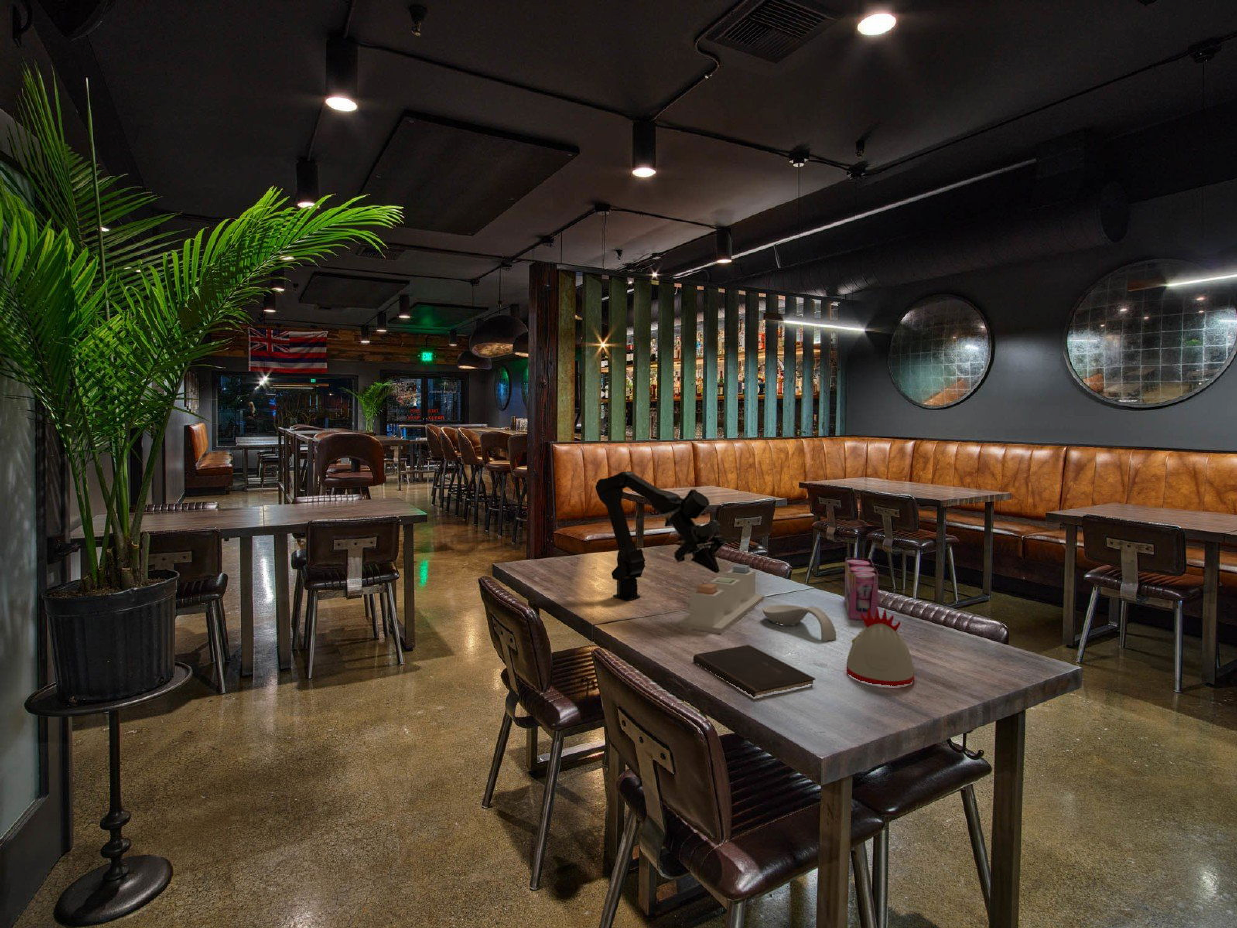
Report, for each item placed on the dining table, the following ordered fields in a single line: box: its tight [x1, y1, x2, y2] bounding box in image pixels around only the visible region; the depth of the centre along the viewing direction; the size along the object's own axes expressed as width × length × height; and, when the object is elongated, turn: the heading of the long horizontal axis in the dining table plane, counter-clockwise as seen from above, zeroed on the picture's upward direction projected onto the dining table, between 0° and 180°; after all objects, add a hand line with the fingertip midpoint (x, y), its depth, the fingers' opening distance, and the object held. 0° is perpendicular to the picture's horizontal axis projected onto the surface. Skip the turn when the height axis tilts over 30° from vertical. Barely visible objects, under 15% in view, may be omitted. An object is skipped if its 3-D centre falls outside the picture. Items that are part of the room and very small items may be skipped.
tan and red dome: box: [845, 608, 915, 686], centre depth 141 cm, size 14×14×15 cm
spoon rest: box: [762, 604, 837, 642], centre depth 175 cm, size 24×12×7 cm, turn 27°
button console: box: [679, 568, 765, 634], centre depth 189 cm, size 12×38×10 cm, turn 150°
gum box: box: [844, 556, 879, 620], centre depth 192 cm, size 24×8×14 cm, turn 164°
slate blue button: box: [732, 563, 750, 574], centre depth 200 cm, size 4×4×4 cm
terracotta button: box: [697, 582, 717, 595], centre depth 176 cm, size 4×4×4 cm
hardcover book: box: [692, 644, 816, 697], centre depth 143 cm, size 16×23×2 cm
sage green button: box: [716, 577, 734, 584], centre depth 188 cm, size 4×4×4 cm
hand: (717, 572), depth 180 cm, fingers closed
